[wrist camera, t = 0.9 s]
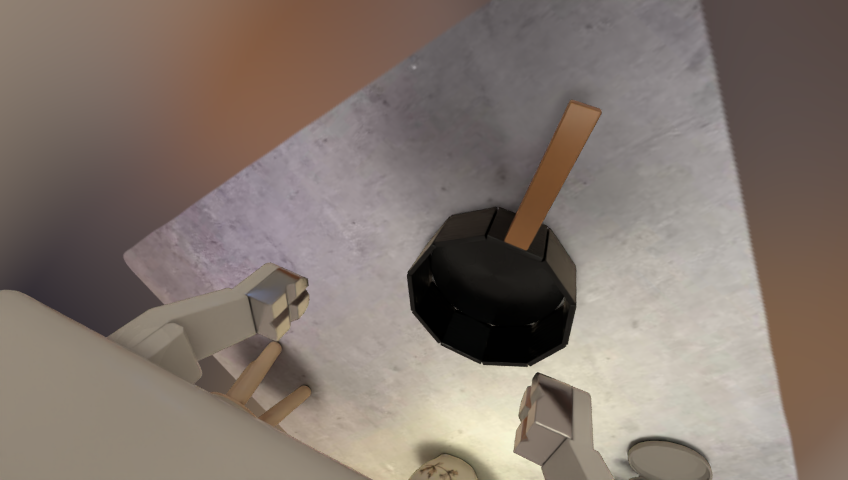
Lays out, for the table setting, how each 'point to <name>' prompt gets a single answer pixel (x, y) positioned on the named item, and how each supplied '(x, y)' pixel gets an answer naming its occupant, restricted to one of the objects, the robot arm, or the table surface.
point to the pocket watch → (667, 462)
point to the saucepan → (505, 268)
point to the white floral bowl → (445, 469)
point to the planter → (251, 381)
